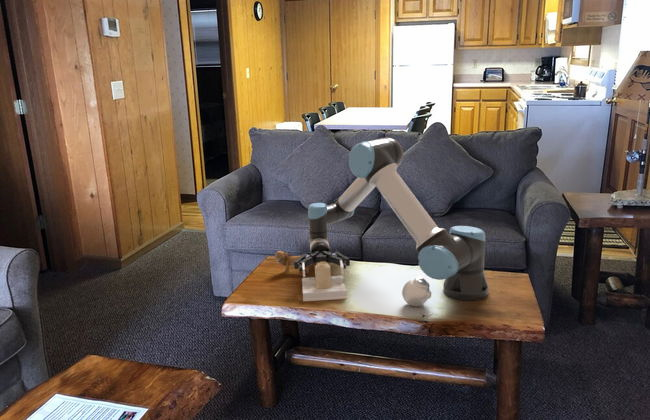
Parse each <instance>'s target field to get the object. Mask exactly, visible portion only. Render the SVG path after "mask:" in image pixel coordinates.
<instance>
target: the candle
mask: <svg viewBox="0 0 650 420" xmlns="http://www.w3.org/2000/svg"><path fill="white" fill-rule="evenodd" d="M314 275H315V276H314V277H315V281H316V289H331V276H332V275H331V265H330V263H327V262H325V261H324V262H320V263H316V265H314Z"/></svg>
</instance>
